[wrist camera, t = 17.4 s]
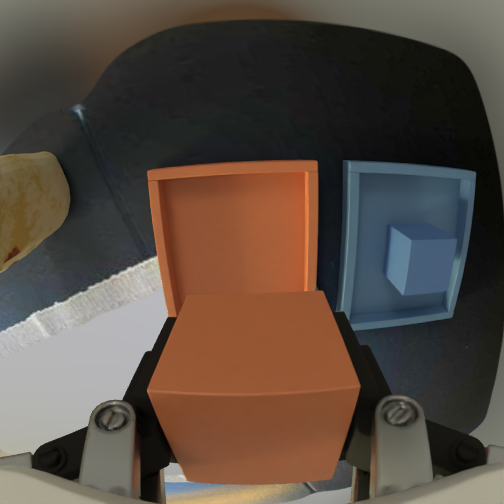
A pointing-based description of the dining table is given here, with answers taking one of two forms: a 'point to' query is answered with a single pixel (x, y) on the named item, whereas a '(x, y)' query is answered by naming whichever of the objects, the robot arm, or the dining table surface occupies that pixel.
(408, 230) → the blue block
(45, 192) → the food model
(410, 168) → the blue tray
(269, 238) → the terracotta tray
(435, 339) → the dining table surface
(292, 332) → the terracotta block
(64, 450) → the robot arm
